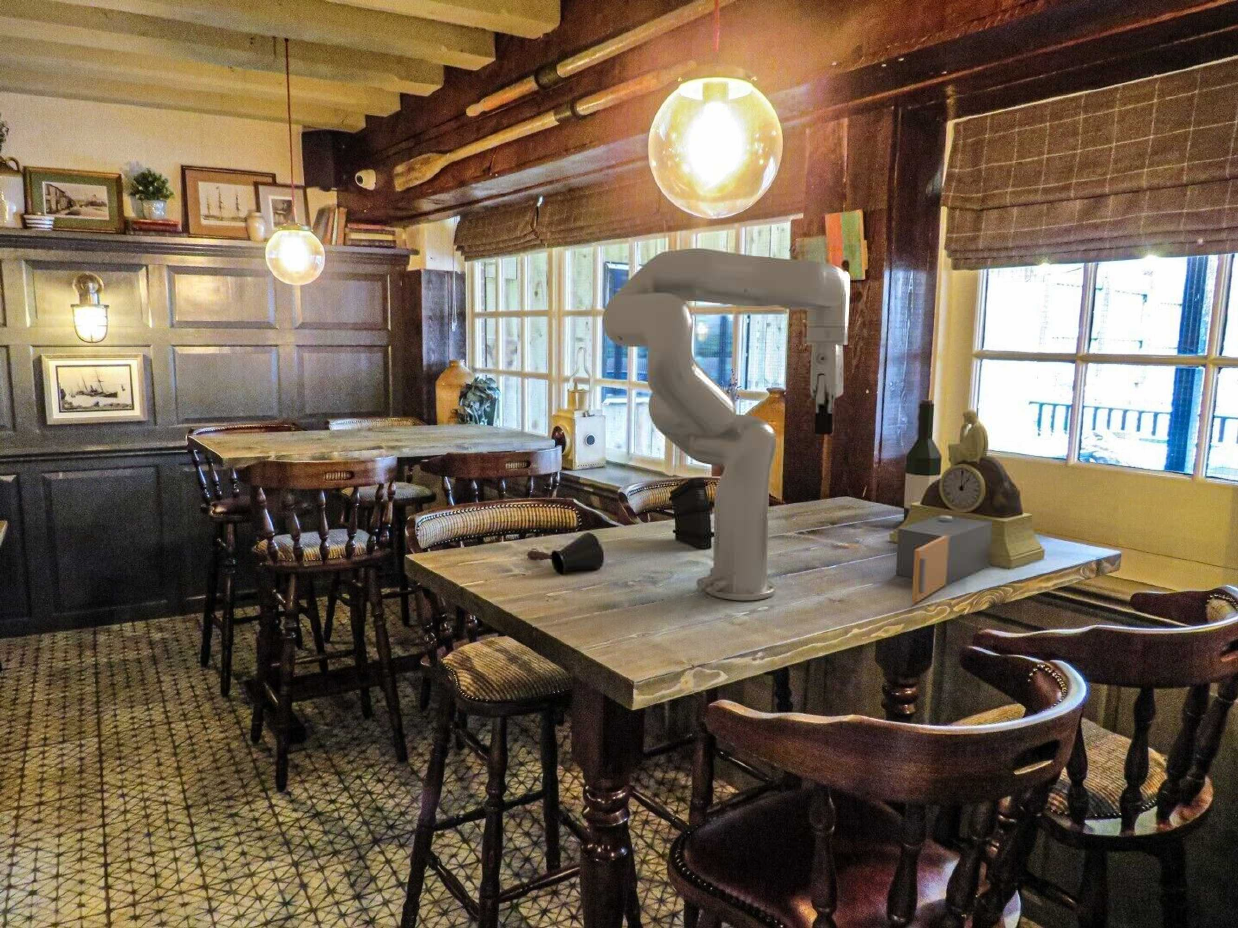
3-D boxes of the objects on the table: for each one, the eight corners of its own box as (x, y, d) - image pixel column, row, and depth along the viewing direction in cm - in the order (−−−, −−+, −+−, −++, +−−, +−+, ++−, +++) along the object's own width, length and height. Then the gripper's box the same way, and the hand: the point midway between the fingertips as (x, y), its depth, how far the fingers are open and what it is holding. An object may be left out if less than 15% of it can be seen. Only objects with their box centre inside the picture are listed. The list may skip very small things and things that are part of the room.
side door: (950, 583, 157) (953, 535, 156) (920, 602, 146) (922, 551, 145) (942, 582, 158) (945, 534, 156) (911, 601, 147) (914, 549, 146)
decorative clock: (889, 541, 191) (895, 407, 186) (923, 533, 199) (930, 404, 194) (1011, 569, 169) (1021, 417, 164) (1044, 558, 177) (1055, 413, 172)
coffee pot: (608, 570, 167) (571, 583, 163) (564, 561, 182) (529, 573, 178) (600, 532, 166) (562, 545, 162) (556, 527, 182) (521, 538, 177)
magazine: (706, 546, 180) (691, 478, 184) (677, 559, 192) (663, 494, 195) (721, 544, 182) (706, 476, 186) (692, 557, 193) (678, 493, 197)
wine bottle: (944, 528, 204) (951, 401, 199) (908, 527, 204) (915, 401, 199) (931, 520, 212) (938, 398, 207) (897, 520, 212) (903, 398, 207)
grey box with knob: (946, 585, 158) (949, 533, 156) (896, 574, 165) (898, 524, 163) (994, 564, 172) (997, 516, 170) (946, 555, 179) (948, 509, 177)
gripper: (841, 337, 153) (837, 439, 156) (852, 336, 167) (849, 430, 170) (799, 337, 156) (796, 437, 159) (813, 336, 170) (811, 429, 173)
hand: (823, 433), depth 164 cm, fingers closed
